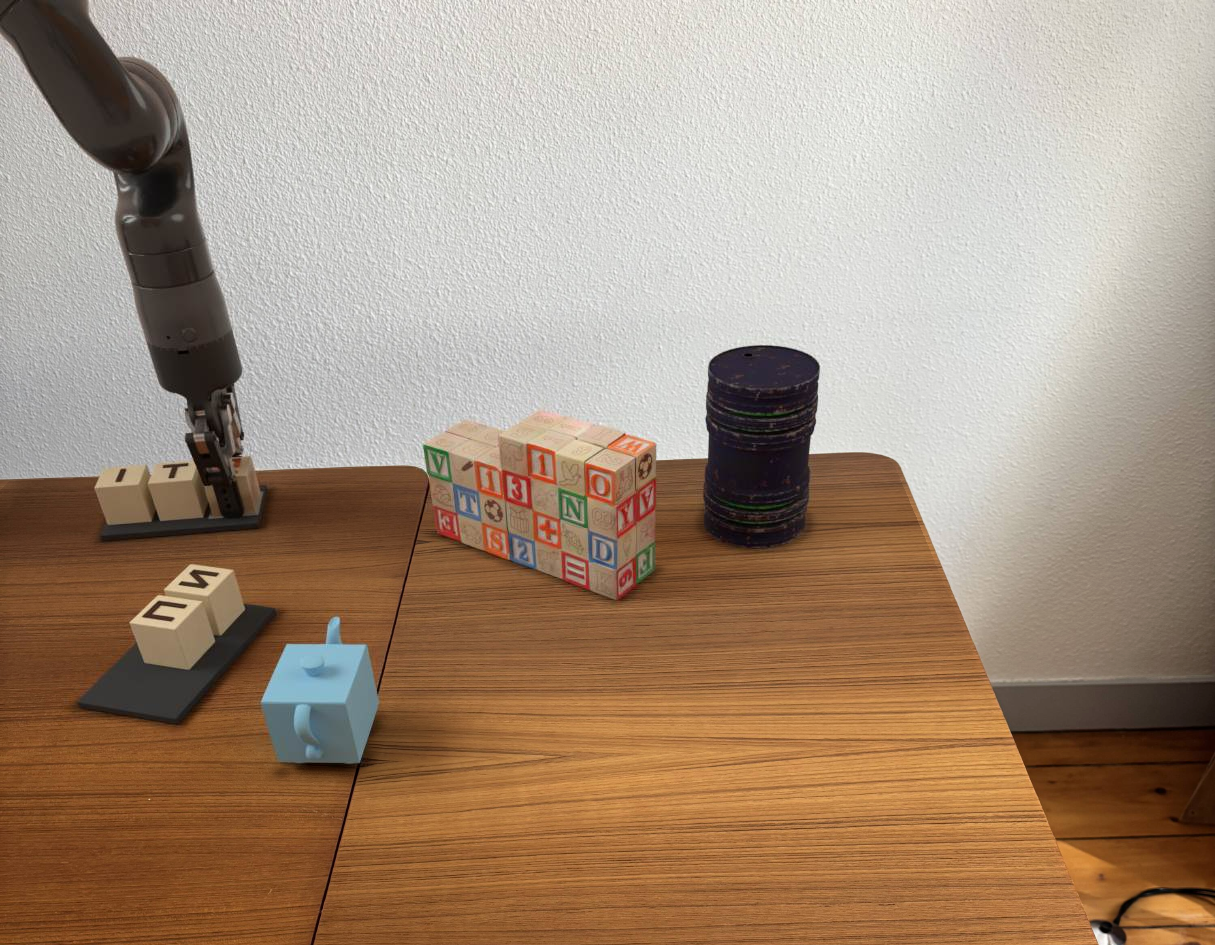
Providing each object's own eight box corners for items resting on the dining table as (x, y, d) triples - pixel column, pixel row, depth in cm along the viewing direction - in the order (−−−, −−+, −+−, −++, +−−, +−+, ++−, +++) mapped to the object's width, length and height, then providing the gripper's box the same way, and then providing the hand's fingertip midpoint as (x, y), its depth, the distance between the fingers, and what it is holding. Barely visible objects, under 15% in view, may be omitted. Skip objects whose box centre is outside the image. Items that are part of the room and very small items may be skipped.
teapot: (315, 685, 91) (294, 606, 86) (389, 686, 91) (373, 606, 86) (275, 785, 82) (250, 703, 77) (357, 786, 82) (337, 703, 77)
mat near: (78, 707, 90) (57, 659, 87) (186, 600, 101) (171, 553, 98) (177, 725, 88) (159, 675, 85) (276, 613, 99) (264, 566, 96)
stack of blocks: (434, 535, 108) (416, 410, 100) (476, 508, 112) (462, 385, 104) (618, 601, 99) (614, 469, 90) (658, 569, 103) (658, 439, 94)
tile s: (256, 513, 111) (245, 474, 109) (212, 516, 111) (201, 477, 108) (260, 493, 114) (251, 454, 112) (218, 496, 114) (207, 457, 111)
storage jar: (825, 534, 106) (843, 376, 96) (732, 558, 104) (739, 398, 93) (774, 489, 113) (785, 337, 103) (685, 510, 110) (687, 356, 100)
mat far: (101, 541, 109) (84, 496, 106) (118, 501, 115) (103, 458, 112) (258, 528, 110) (246, 483, 107) (267, 489, 116) (256, 446, 113)
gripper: (159, 303, 106) (209, 474, 118) (129, 362, 96) (187, 543, 107) (240, 297, 106) (282, 468, 118) (219, 355, 96) (267, 536, 108)
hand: (236, 503), depth 113 cm, fingers closed on tile s, 4 cm apart
